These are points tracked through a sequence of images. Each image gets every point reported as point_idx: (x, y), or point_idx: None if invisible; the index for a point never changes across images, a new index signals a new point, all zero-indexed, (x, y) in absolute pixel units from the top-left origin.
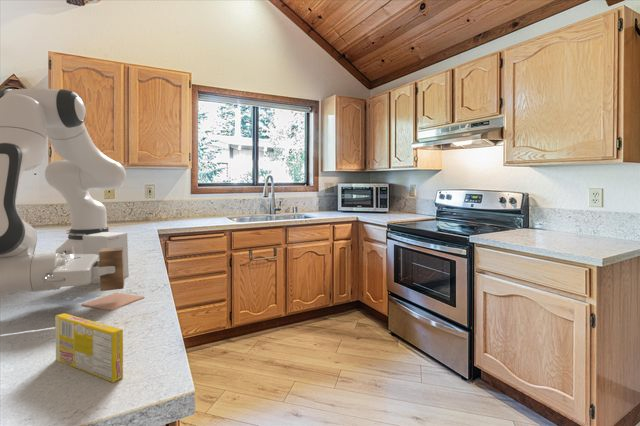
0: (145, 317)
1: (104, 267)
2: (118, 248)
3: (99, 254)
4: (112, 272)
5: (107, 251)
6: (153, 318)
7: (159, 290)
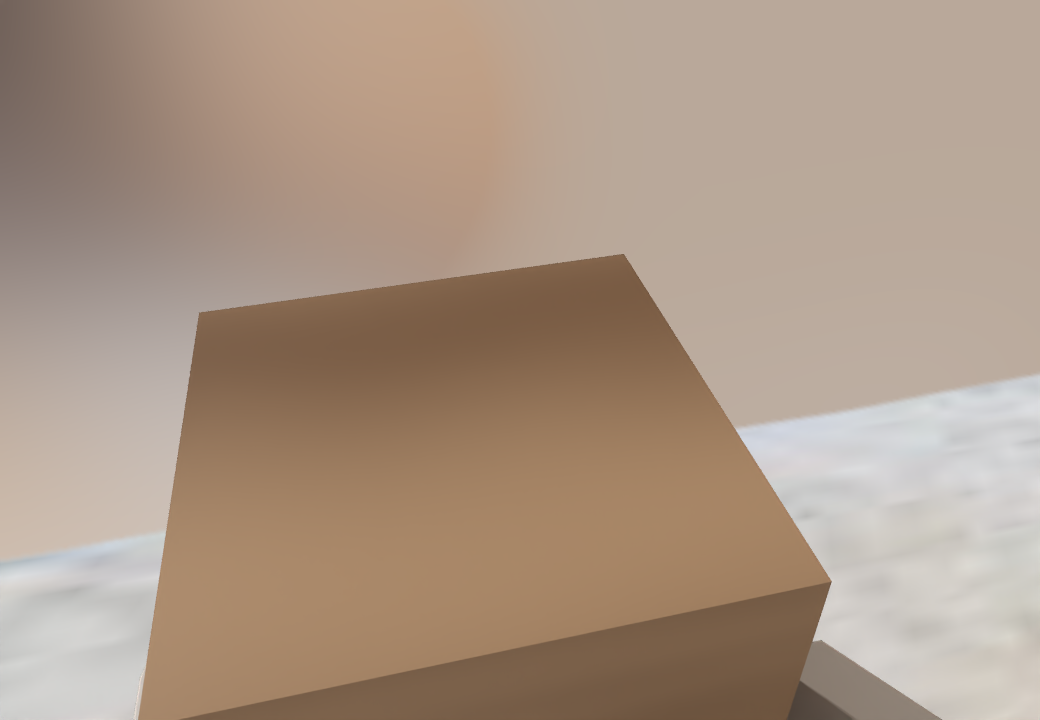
0: (923, 538)
1: (857, 667)
2: (369, 339)
3: (808, 629)
4: None
5: (731, 431)
6: (933, 489)
7: None
